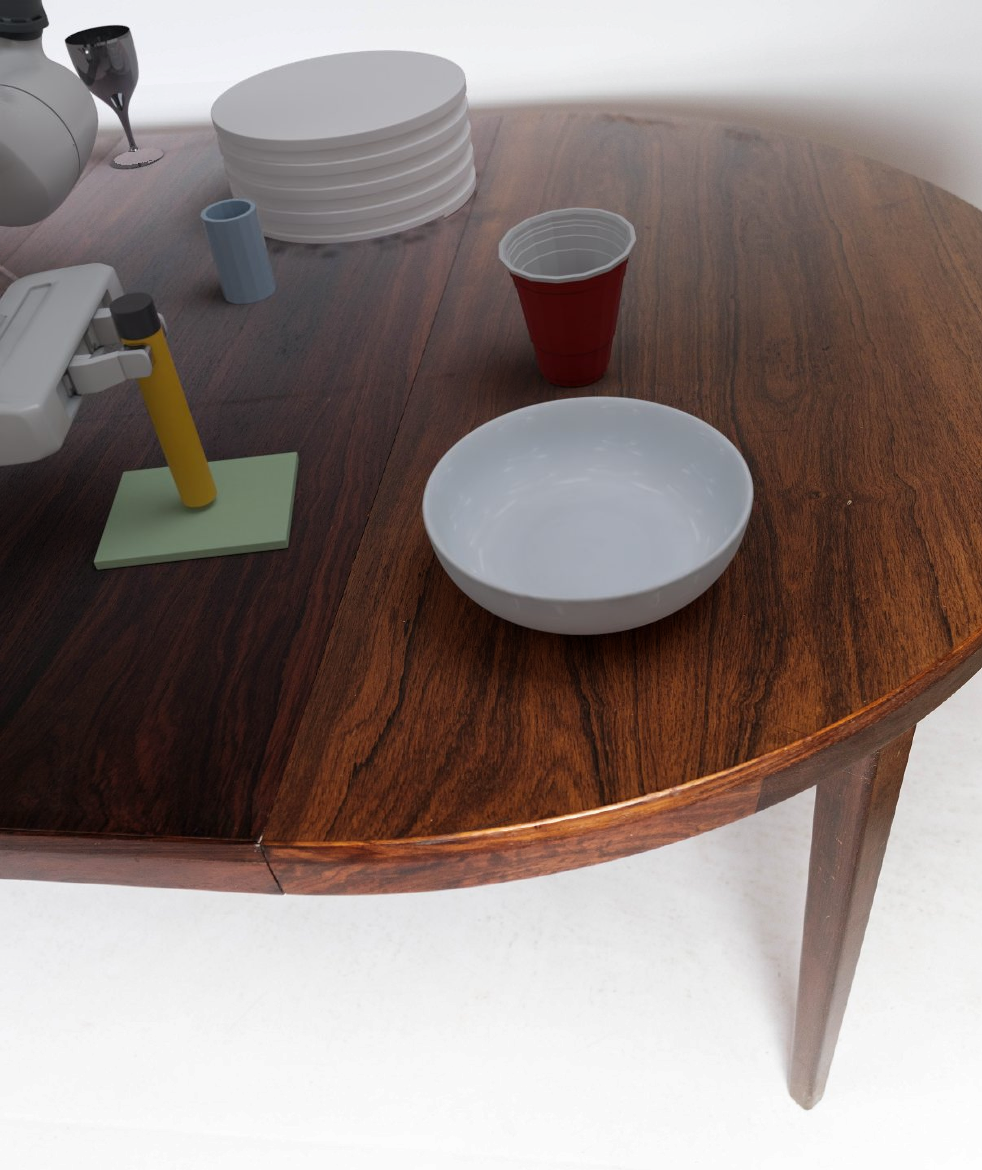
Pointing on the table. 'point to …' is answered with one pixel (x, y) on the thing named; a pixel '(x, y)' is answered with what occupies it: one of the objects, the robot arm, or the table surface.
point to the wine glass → (108, 71)
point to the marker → (166, 400)
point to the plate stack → (349, 144)
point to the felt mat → (201, 513)
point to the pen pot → (239, 250)
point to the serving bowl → (588, 513)
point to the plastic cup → (570, 287)
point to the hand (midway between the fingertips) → (157, 343)
